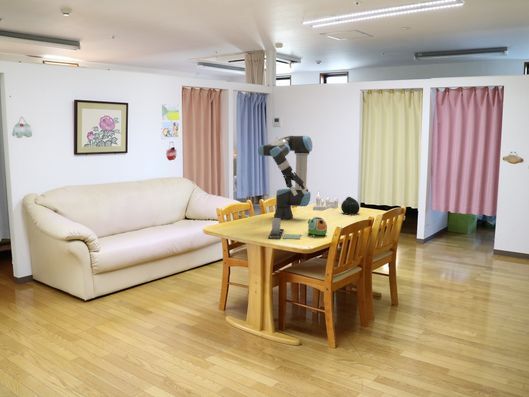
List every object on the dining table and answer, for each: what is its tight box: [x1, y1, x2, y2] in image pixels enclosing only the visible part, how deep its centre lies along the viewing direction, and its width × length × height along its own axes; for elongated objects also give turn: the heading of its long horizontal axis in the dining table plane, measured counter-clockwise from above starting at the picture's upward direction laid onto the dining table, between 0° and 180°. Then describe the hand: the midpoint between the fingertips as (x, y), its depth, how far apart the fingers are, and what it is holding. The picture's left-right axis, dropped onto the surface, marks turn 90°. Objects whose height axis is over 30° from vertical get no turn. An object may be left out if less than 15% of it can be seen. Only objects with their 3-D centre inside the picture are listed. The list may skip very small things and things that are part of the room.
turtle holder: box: [307, 216, 328, 238], centre depth 331 cm, size 12×18×12 cm
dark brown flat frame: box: [267, 228, 285, 240], centre depth 331 cm, size 26×8×1 cm, turn 173°
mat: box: [282, 233, 302, 240], centre depth 324 cm, size 11×11×1 cm
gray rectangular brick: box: [271, 217, 281, 234], centre depth 330 cm, size 5×5×11 cm
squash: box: [340, 196, 360, 215], centre depth 409 cm, size 14×15×15 cm
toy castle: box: [312, 191, 339, 212], centre depth 431 cm, size 14×25×16 cm, turn 147°
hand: (300, 194), depth 340 cm, fingers open, 13 cm apart
